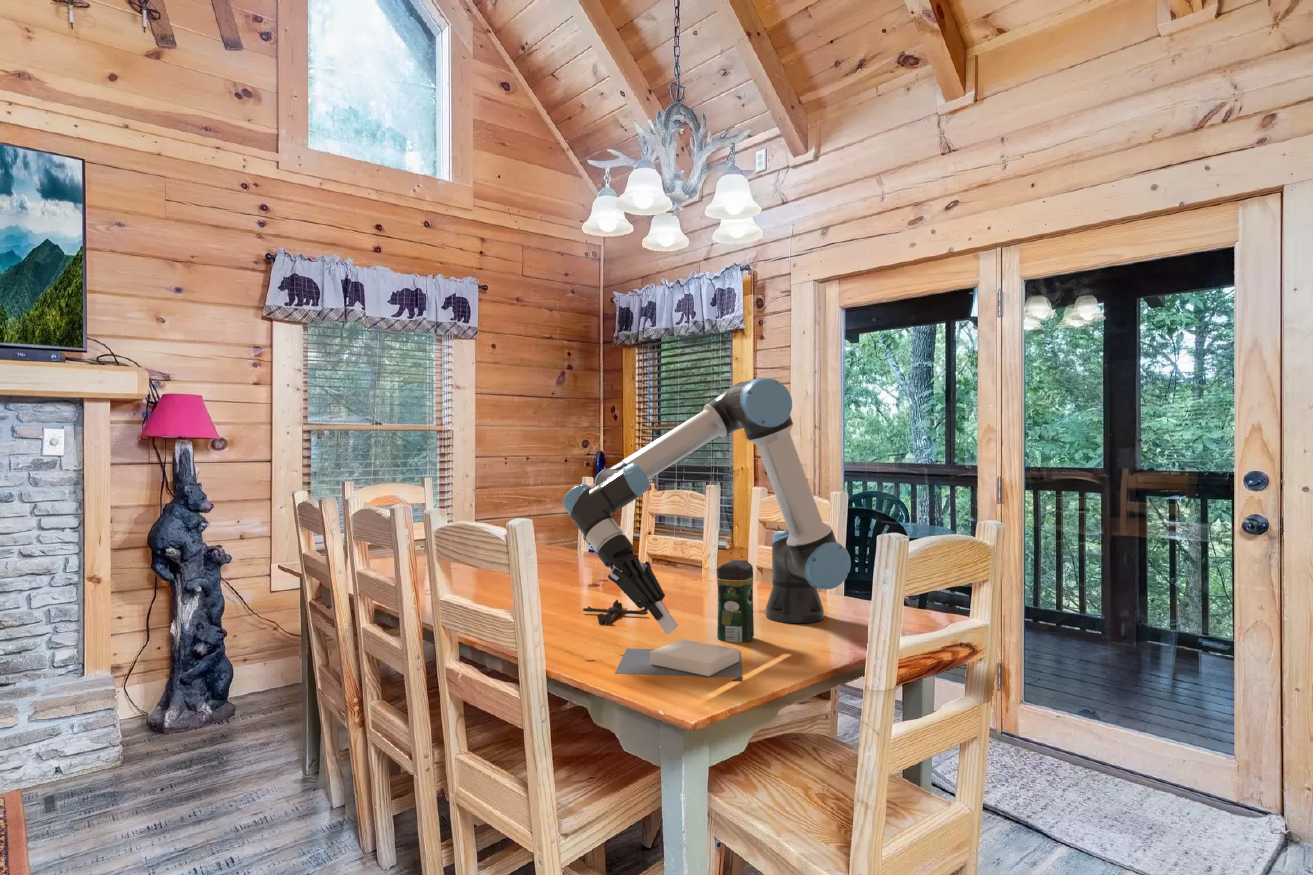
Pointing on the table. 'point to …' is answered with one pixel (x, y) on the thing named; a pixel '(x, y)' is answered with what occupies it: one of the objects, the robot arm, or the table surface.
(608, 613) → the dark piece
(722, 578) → the coffee jar
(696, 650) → the tile
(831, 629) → the table surface
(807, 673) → the table surface
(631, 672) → the mat
